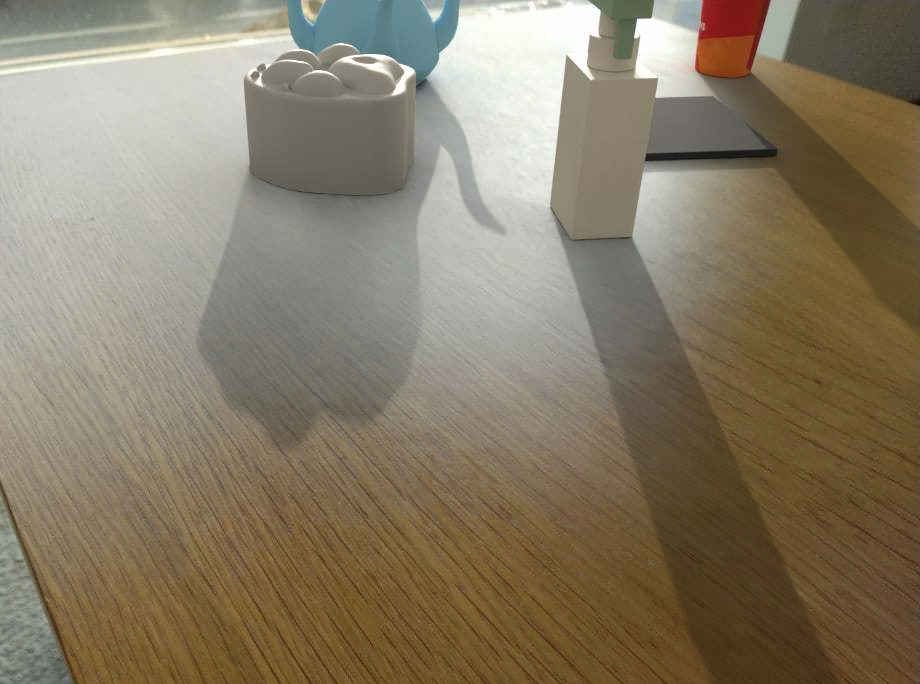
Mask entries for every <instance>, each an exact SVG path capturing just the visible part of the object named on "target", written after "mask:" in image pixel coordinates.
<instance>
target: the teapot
mask: <svg viewBox="0 0 920 684" xmlns="http://www.w3.org/2000/svg"><path fill="white" fill-rule="evenodd" d="M460 1H461V0H444V5H443V8H442V11H441V12H440V14H439V15H438V17H436V18H435V19H434V20H433V18H432V16H431V14H430V11H429V9H428V7H427V6H426V4H425V2H424V0H324V2H323V4H322V6H321V7H320V8H319V11H318V13H317V15H316V18H315V19H314V22H313V23H312V22H311V21H309V19H308V18H307V16H305V13H304V9H303V4H302V0H286V6H287V18H288V27H289V31H290V35H291V38H292V40H293V42H294V43H295V44H296V46H297V47H298V49H301V50H307V51H310V52H312V53H313V54H314V55H315V56H317V55H318V54H319V53H320V52H321V51H322V50H324V49H326V48H328V47H330V46H332V45H335V44H348V45H351V46H353V47H355V48H356V49H357V50H358V51H359V53H360V54H361V55H384V56H388V57H391V58H393V59H394V60H395V61H397V62H398V63H399V64H401V65H405V66H408V67H410V68H412V69H413V70H414V71H415V73H416V86H417V85H419V84H421V83H423V82H424V81H425V80H426V78H428V76H430V74H431V73H432V72H433V71H434V69H435V68H436V67H437V65H438V63H439V60H440V54H441V52H443V50H445V49H446V48H448V47H449V46H450V44H451V43H452V41H453V39H454V38H455V35H456V32H457V30H458V25H459V18H460Z"/></svg>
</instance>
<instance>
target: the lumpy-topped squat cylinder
mask: <svg viewBox="0 0 920 684" xmlns="http://www.w3.org/2000/svg"><path fill="white" fill-rule="evenodd" d="M243 89H244V90H243V91H244V104H245V117H246V119H245V122H246V133H247V146H248V157H249V158H248V160H249V168H250V170H251V172H252V173H253V174H254V175H255V176H256V177H258V179H260V180H263V181H265V182H268V183H270V184H272V185H275V186H278V187H281V188H284V189H287V190H292V191H296V192H297V191H298V192H306V193H314V194H315V193H317V194H326V195H327V194H328V195H329V194H330V195H345V196H346V195H348V196H349V195H350V196H375V195H376V196H377V195H384V194H390V193H393V192H396V191H399V190H400V189H402V188H403V187H404V186H405V185H406V178H407V177H406V175H407V173H408V171H409V170H410V169H411V168H412V166H413V165H414V163H415V140H416V139H415V135H416V129H415V127H416V102H417V101H416V99H417V98H416V97H417V85H416V73H415V71H414V70H413V69H412V68H410V67H408V66H405V65H401V64H399V63H398V62H397V61H395V60H394V59H393V58H391V57H388V56H384V55H361V54H360V53H359V51H358V50H357V49H356V48H355V47H353V46H351V45H348V44H335V45H332V46H330V47H328V48H326V49H324V50H322V51H321V52H320V53H319V54H318V55H317V56H315V55H314V54H313V53H312V52H310V51H307V50H301V49H300V48H298V49H295V48H294V49H290V50H287V51H285V52H283V53H281V54H280V55H279V56H278V57H277V58H276V59H275V60H274V61H273V62H272V63H268V64H265V63H263V62H262V63H260V64H259V65H258V66H257V67H254V68H252V69H250V70H248V71H247V72H246V73H245V75H244V77H243Z"/></svg>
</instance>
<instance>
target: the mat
mask: <svg viewBox="0 0 920 684" xmlns="http://www.w3.org/2000/svg"><path fill="white" fill-rule="evenodd" d="M778 150H779V148H778V147H776V146H775V145H774V144H773V143H772V142H770V141H769V140H768V139H767V138H765V137H764V136H763V135H761V134H760V133H759V132H758V131H757V130H755V129H754V128H753V127H752V126H750V124H748V123H747V122H745V120H743V119H742V118H741V117H740V116H738V115H737V114H736V113H735V112H733V111H732V110H731V109H730V108H729V107H727V106H726V105H725V104H723V102H721V101H720V100H719V99H718V98H716V97H715V96H714V95H702V96H701V95H700V96H670V97H667V96H665V97H664V96H663V97H655V102H654V108H653V114H652V120H651V126H650V132H649V138H648V144H647V150H646V157H645V161H665V160H667V161H670V160H694V159H720V158H721V159H722V158H748V157H751V158H752V157H775V156H777V155H778V154H777V153H778Z"/></svg>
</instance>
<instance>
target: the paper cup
mask: <svg viewBox="0 0 920 684" xmlns="http://www.w3.org/2000/svg"><path fill="white" fill-rule="evenodd" d="M771 1H772V0H701V9H700V18H699V25H698V32H697V42H696V50H695V59H694V69H695V70H696V71H697V72H698V73H700V74H703V75H706V76H711V77H718V78H742V77H745V76H748V75H749V74H750V73H751V72H752V68H753V65H754V62H755V58H756V55H757V52H758V49H759V45H760V41H761V38H762V34H763V30H764V26H765V23H766V21H767V20H766V19H767V16H768V13H769V9H770V5H771Z"/></svg>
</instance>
